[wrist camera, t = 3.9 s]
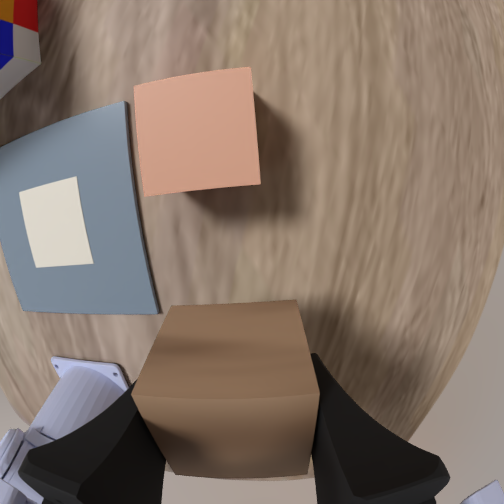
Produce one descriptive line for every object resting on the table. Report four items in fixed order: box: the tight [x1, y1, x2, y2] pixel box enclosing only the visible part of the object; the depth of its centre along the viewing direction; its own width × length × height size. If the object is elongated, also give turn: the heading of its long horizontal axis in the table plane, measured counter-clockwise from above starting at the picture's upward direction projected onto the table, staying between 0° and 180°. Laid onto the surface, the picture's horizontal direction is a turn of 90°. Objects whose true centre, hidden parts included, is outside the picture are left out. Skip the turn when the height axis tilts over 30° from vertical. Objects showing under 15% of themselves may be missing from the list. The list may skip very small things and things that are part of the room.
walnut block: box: [131, 300, 320, 478], centre depth 10 cm, size 5×5×5 cm
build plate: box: [0, 101, 159, 314], centre depth 17 cm, size 14×14×1 cm
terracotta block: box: [134, 67, 261, 197], centre depth 13 cm, size 5×5×5 cm
